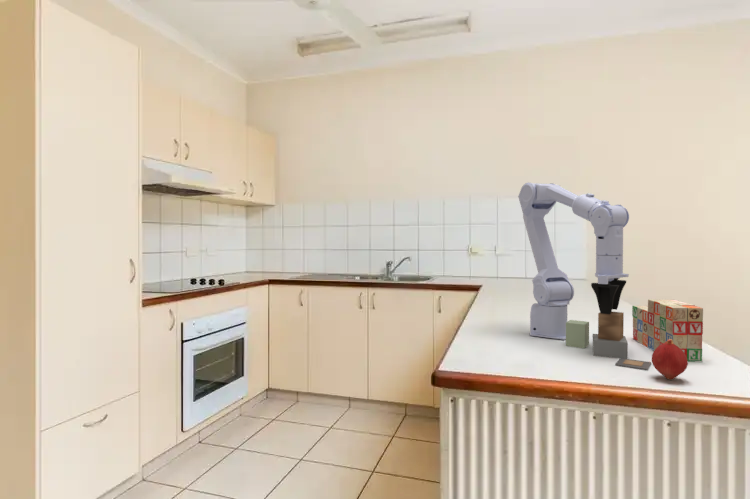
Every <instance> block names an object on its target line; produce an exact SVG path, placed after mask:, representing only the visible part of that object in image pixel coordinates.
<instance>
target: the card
mask: <svg viewBox="0 0 750 499" xmlns="http://www.w3.org/2000/svg"><path fill="white" fill-rule="evenodd" d="M614 364H615V366H616V367H623V368H629V369H637V370H643V371H649V369H650V367H651V365H652V361H644V360H638V359H630V358H628V359H625V358H618V359H617V361H616V362H615V363H614Z"/></svg>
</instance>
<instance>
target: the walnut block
mask: <svg viewBox="0 0 750 499" xmlns="http://www.w3.org/2000/svg"><path fill="white" fill-rule="evenodd" d="M597 316H598V317H597V318H598V319H597V322H598V323H597V328H598V329H597V334H598V338H599V339H606V340H614V341H620V340H621V339H622V338H623V336H624V317H625V316H624V312H622V311H621V312H620V311H613V310H612V311H611V314H602V313H600V312H598V313H597Z"/></svg>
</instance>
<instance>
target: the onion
mask: <svg viewBox="0 0 750 499" xmlns="http://www.w3.org/2000/svg"><path fill="white" fill-rule="evenodd" d="M688 364H689V361H688V360H687V357H686V355H685V353H684V352H683V351H682V350H681V349H680V348H679V347H678V346H676V345H675V344H674V343H673V340H672V339H668V340H667V341H666V342H665V343H663V344H661V345H659V346H658V347H657V348H656V349H655V351H654V350H653V352H652V354H651V365H652V366H653V367H654V369H655V370H656V371H657V372H658V373H660V374H661V375H662V376H663V377H665V379H666V380H674V379H675V378H676V377H678V376H680V375H682V374H683V373H684V372H685V371H686V370H687V368H688Z"/></svg>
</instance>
